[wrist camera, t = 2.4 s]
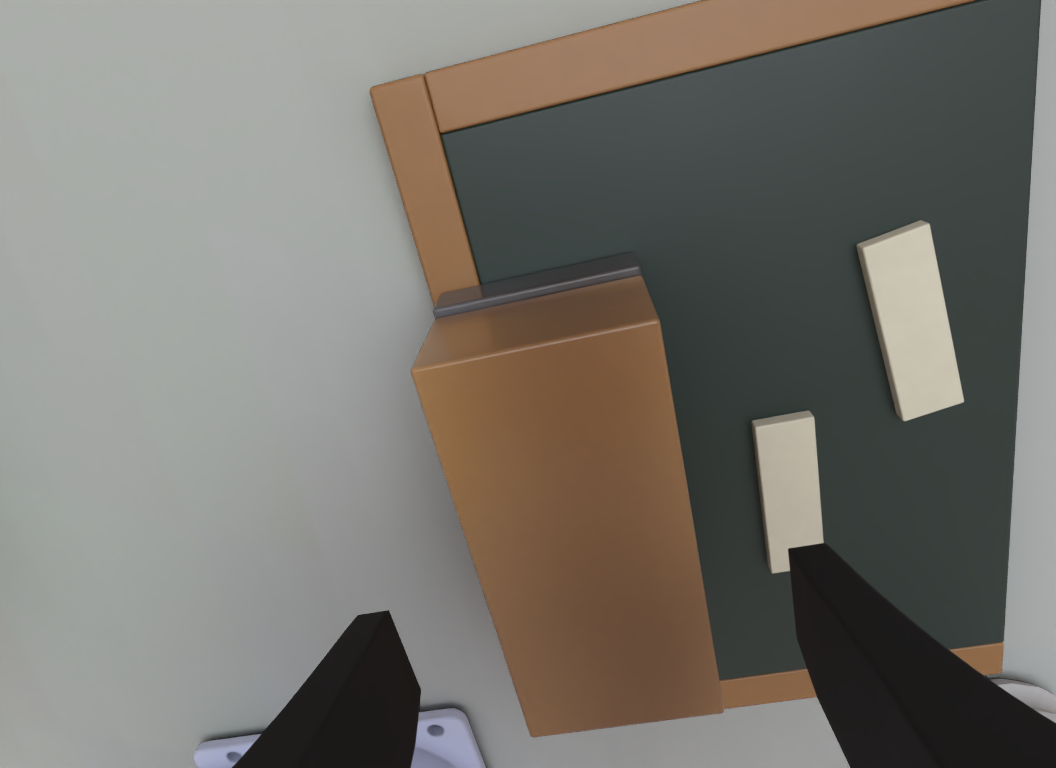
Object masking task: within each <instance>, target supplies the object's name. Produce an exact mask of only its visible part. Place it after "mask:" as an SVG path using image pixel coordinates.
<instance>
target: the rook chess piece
mask: <svg viewBox="0 0 1056 768" xmlns="http://www.w3.org/2000/svg"><path fill="white" fill-rule="evenodd" d="M990 680H991V681H992V682H994V683H995V684H997V685H998V686H1000V687H1001V688H1002V689H1004V690H1005V691H1007V692H1008V693H1010V694H1011V695H1013V696H1014V697H1016V698H1017V699H1019V700H1020V701H1022V702H1024V703H1025V704H1027V705H1028V706H1030V707H1031V708H1033V709H1034V710H1036V711H1037V712H1039V713H1040V714H1042V715H1044V716H1045V717H1047V718H1048V719H1050V720H1052V721H1053V722H1055V723H1056V696H1054V695H1053V694H1051V693H1049V692H1047V691H1046V690H1044V689H1042V688H1040V687H1037V686H1034V685H1031V684H1028V683H1025V682H1021V681H1015V680H1008V679H1001V678H998V679H990Z"/></svg>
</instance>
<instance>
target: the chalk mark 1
mask: <svg viewBox="0 0 1056 768" xmlns="http://www.w3.org/2000/svg"><path fill="white" fill-rule="evenodd" d="M751 424H752V433H753V441H754V450H755V459H756V467H757V476H758V485H759V493H760V502H761V510H762V519H763V528H764V536H765V545H766V553H767V562H768V566H769V569H770V571H771V573H780V572H786V571H790V565H789V555H788V548H795V547H801V546H808V545H814V544H820V543H824V541H823V527H822V514H821V500H820V487H819V473H818V460H817V446H816V433H815V420H814V416H813V415H812V414H811V412H810V411H809V410H807V411H801V412H796V413H790V414H785V415H779V416H774V417H768V418H763V419H757V420H753V421H752V422H751Z"/></svg>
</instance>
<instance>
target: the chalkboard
mask: <svg viewBox="0 0 1056 768" xmlns="http://www.w3.org/2000/svg"><path fill="white" fill-rule="evenodd" d="M1040 10H1041V0H701V1H697V2H694V3H690V4H686V5H682V6H678V7H675V8H671V9H667V10H663V11H659V12H655V13H652V14H648V15H644V16H640V17H636V18H632V19H629V20H625V21H621V22H617V23H613V24H610V25H606V26H602V27H598V28H594V29H590V30H587V31H583V32H579V33H575V34H571V35H567V36H564V37H560V38H556V39H552V40H548V41H545V42H541V43H537V44H533V45H529V46H525V47H522V48H518V49H514V50H510V51H506V52H503V53H499V54H495V55H491V56H487V57H483V58H480V59H476V60H472V61H468V62H464V63H460V64H457V65H453V66H449V67H445V68H441V69H438V70H434V71H430V72H427V73H426V74H419V75H415V76H411V77H407V78H403V79H399V80H396V81H392V82H388V83H384V84H380V85H377V86H373V87H371V88H370V96H371V99H372V102H373V106H374V109H375V112H376V116H377V119H378V122H379V126H380V129H381V132H382V136H383V139H384V142H385V145H386V149H387V152H388V155H389V159H390V162H391V165H392V169H393V172H394V175H395V179H396V182H397V185H398V189H399V192H400V195H401V199H402V202H403V205H404V208H405V212H406V215H407V218H408V222H409V225H410V228H411V232H412V235H413V238H414V242H415V245H416V248H417V252H418V255H419V258H420V261H421V265H422V268H423V271H424V275H425V278H426V281H427V285H428V288H429V291H430V295H431V298H432V301H433V305H434V307H435V305H436V303H437V301H438V299H439V297H440V295H441V294H442V293H446V292H450V291H455V290H460V289H464V288H469V287H473V286H478V285H482V284H487V283H492V282H496V281H501V280H505V279H510V278H515V277H519V276H524V275H528V274H533V273H538V272H542V271H547V270H551V269H556V268H561V267H565V266H570V265H574V264H579V263H584V262H588V261H593V260H597V259H602V258H607V257H611V256H616V255H620V254H625V253H629V252H633V253H635V255H636V257H637V259H638V262H639V264H640V267H641V271H642V277H643V279H644V282H645V284H646V287H647V289H648V292H649V294H650V297H651V299H652V302H653V304H654V307H655V309H656V312H657V314H658V317H659V319H660V323H661V329H662V335H663V341H664V347H665V353H666V359H667V365H668V371H669V377H670V383H671V389H672V395H673V401H674V408H675V414H676V420H677V426H678V432H679V438H680V444H681V450H682V456H683V462H684V468H685V474H686V480H687V486H688V492H689V498H690V505H691V511H692V517H693V523H694V529H695V535H696V541H697V547H698V553H699V559H700V565H701V571H702V577H703V583H704V589H705V596H706V602H707V608H708V614H709V620H710V626H711V632H712V638H713V644H714V650H715V656H716V662H717V668H718V674H719V680H720V686H721V693H722V699H723V705H724V709H727V708H735V707H743V706H751V705H758V704H766V703H774V702H782V701H789V700H797V699H805V698H812V697H817V695H816V693H815V690H814V687H813V684H812V681H811V678H810V676H809V673H808V670H807V667H806V664H805V661H804V658H803V655H802V652H801V649H800V646H799V643H798V640H797V637H796V626H795V616H794V606H793V596H792V585H791V575H790V571H786V572H780V573H771V571H770V569H769V566H768V562H767V553H766V545H765V536H764V528H763V519H762V510H761V502H760V493H759V485H758V476H757V467H756V459H755V450H754V441H753V433H752V424H751V422H752V421H753V420H757V419H763V418H768V417H774V416H779V415H785V414H790V413H796V412H801V411H807V410H809V411H810V412H811V414H812V415H813V416H814V420H815V433H816V446H817V460H818V473H819V487H820V500H821V514H822V527H823V541H824V543H826V544H827V545H829V546H830V547H832V548H833V549H834V550H835V551H836V552H837V553H838V554H839V555H840V556H841V557H842V558H843V559H844V560H845V561H846V562H847V563H848V564H849V565H850V566H851V567H852V568H853V569H854V570H856V571H857V572H858V573H859V574H860V575H861V576H862V577H863V578H864V579H865V580H866V581H867V582H869V583H870V584H871V585H872V586H873V587H874V588H875V589H876V590H877V591H879V592H880V593H881V594H882V595H883V596H884V597H885V598H886V599H888V600H889V601H890V602H891V603H892V604H893V605H895V606H896V607H897V608H898V609H899V610H900V611H902V612H903V613H904V614H905V615H907V616H908V617H909V618H910V619H911V620H913V621H914V622H915V623H916V624H917V625H919V626H920V627H921V628H922V629H923V630H925V631H926V632H927V633H928V634H930V635H931V636H932V637H933V638H935V639H936V640H937V641H938V642H940V643H941V644H942V645H944V646H945V647H946V648H947V649H949V650H950V651H951V652H953V653H954V654H955V655H957V656H958V657H959V658H961V659H962V660H963V661H965V662H966V663H967V664H969V665H970V666H971V667H973V668H974V669H976V670H977V671H978V672H980V673H981V674H983V675H990V674H998V673H1001V672H1002V661H1003V641H1004V626H1005V609H1006V592H1007V575H1008V558H1009V541H1010V524H1011V506H1012V489H1013V472H1014V455H1015V438H1016V421H1017V404H1018V387H1019V369H1020V352H1021V335H1022V318H1023V301H1024V284H1025V267H1026V250H1027V232H1028V215H1029V198H1030V181H1031V164H1032V147H1033V130H1034V113H1035V95H1036V78H1037V61H1038V44H1039V27H1040ZM920 220H922V221H925V222H927V223H929V224H930V229H931V234H932V239H933V244H934V249H935V254H936V259H937V265H938V270H939V275H940V280H941V285H942V290H943V295H944V300H945V306H946V311H947V316H948V321H949V326H950V331H951V336H952V341H953V347H954V352H955V357H956V362H957V367H958V372H959V377H960V382H961V388H962V393H963V398H964V402H963V403H960V404H957V405H954V406H951V407H948V408H945V409H942V410H938V411H935V412H932V413H929V414H926V415H923V416H920V417H917V418H914V419H911V420H908V421H903V420H902V419H901V418H900V417H899V416H898V415H897V414H896V410H895V405H894V401H893V397H892V393H891V389H890V385H889V380H888V376H887V372H886V368H885V364H884V360H883V355H882V351H881V347H880V343H879V339H878V335H877V330H876V326H875V322H874V318H873V314H872V310H871V305H870V301H869V297H868V293H867V289H866V285H865V280H864V276H863V272H862V268H861V264H860V260H859V255H858V251H857V247H856V246H857V244H859V243H861V242H864V241H867V240H869V239H872V238H875V237H877V236H880V235H883V234H885V233H888V232H890V231H893V230H896V229H898V228H901V227H904V226H906V225H909V224H912V223H914V222H917V221H920Z"/></svg>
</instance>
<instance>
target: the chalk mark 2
mask: <svg viewBox="0 0 1056 768" xmlns="http://www.w3.org/2000/svg"><path fill="white" fill-rule="evenodd" d="M856 247H857V251H858V255H859V260H860V264H861V268H862V272H863V276H864V280H865V285H866V289H867V293H868V297H869V301H870V305H871V310H872V314H873V318H874V322H875V326H876V330H877V335H878V339H879V343H880V347H881V351H882V355H883V360H884V364H885V368H886V372H887V376H888V380H889V385H890V389H891V393H892V397H893V401H894V405H895V410H896V414H897V415H898V416H899V417H900V418H901V419H902V420H903V421H908V420H911V419H914V418H917V417H920V416H923V415H926V414H929V413H932V412H935V411H938V410H942V409H945V408H948V407H951V406H954V405H957V404H960V403H963V402H964V398H963V393H962V388H961V382H960V377H959V372H958V367H957V362H956V357H955V352H954V347H953V341H952V336H951V331H950V326H949V321H948V316H947V311H946V306H945V300H944V295H943V290H942V285H941V280H940V275H939V270H938V265H937V259H936V254H935V249H934V244H933V239H932V234H931V229H930V224H929V223H927V222H925V221H922V220H920V221H917V222H914V223H912V224H909V225H906V226H904V227H901V228H898V229H896V230H893V231H890V232H888V233H885V234H883V235H880V236H877V237H875V238H872V239H869V240H867V241H864V242H861V243H859V244H857V246H856Z"/></svg>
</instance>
